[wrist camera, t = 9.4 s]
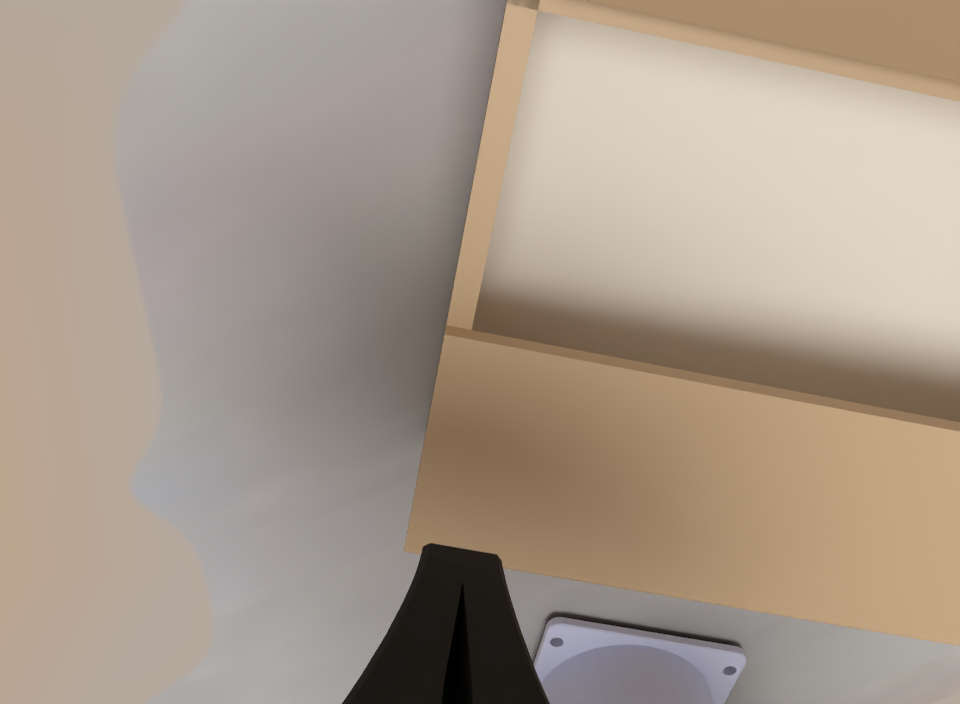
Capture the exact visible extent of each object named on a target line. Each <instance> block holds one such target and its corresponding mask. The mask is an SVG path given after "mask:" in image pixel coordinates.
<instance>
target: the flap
mask: <svg viewBox="0 0 960 704" xmlns="http://www.w3.org/2000/svg"><path fill="white" fill-rule="evenodd" d="M587 1H592V2H596V3H601V4H606V5H610V6H615V7H619V8H624V9H628V10H633V11H638V12H642V13H647V14H651V15H656V16H661V17H665V18H670V19H674V20H679V21H683V22H688V23H693V24H697V25H702V26H706V27H711V28H716V29H720V30H725V31H729V32H734V33H738V34H743V35H748V36H752V37H757V38H761V39H766V40H771V41H775V42H780V43H784V44H789V45H793V46H798V47H803V48H807V49H812V50H816V51H821V52H826V53H830V54H835V55H839V56H844V57H848V58H853V59H858V60H862V61H867V62H871V63H876V64H881V65H885V66H890V67H894V68H899V69H903V70H908V71H913V72H917V73H922V74H926V75H931V76H936V77H940V78H945V79H949V80H954V81H958V82H960V0H587Z"/></svg>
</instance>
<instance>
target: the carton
mask: <svg viewBox="0 0 960 704" xmlns="http://www.w3.org/2000/svg"><path fill="white" fill-rule="evenodd" d="M429 543H434V544H439V545H445V546H451V547H457V548H463V549H469V550H474V551H480V552H486V553H492V554H497V555H498V556H499V558H500V559H501V560H502V566H503V568H505V569H511V570H517V571H523V572H529V573H534V574H540V575H546V576H552V577H558V578H564V579H570V580H576V581H581V582H587V583H593V584H599V585H605V586H611V587H617V588H623V589H628V590H634V591H640V592H646V593H652V594H658V595H664V596H670V597H675V598H681V599H687V600H693V601H699V602H705V603H711V604H717V605H723V606H728V607H734V608H740V609H746V610H752V611H758V612H764V613H770V614H775V615H781V616H787V617H793V618H799V619H805V620H811V621H817V622H822V623H828V624H834V625H840V626H846V627H852V628H858V629H864V630H869V631H875V632H881V633H887V634H893V635H899V636H905V637H911V638H916V639H922V640H928V641H934V642H940V643H946V644H952V645H958V646H960V82H958V81H954V80H949V79H945V78H940V77H936V76H931V75H926V74H922V73H917V72H913V71H908V70H903V69H899V68H894V67H890V66H885V65H881V64H876V63H871V62H867V61H862V60H858V59H853V58H848V57H844V56H839V55H835V54H830V53H826V52H821V51H816V50H812V49H807V48H803V47H798V46H793V45H789V44H784V43H780V42H775V41H771V40H766V39H761V38H757V37H752V36H748V35H743V34H738V33H734V32H729V31H725V30H720V29H716V28H711V27H706V26H702V25H697V24H693V23H688V22H683V21H679V20H674V19H670V18H665V17H661V16H656V15H651V14H647V13H642V12H638V11H633V10H628V9H624V8H619V7H615V6H610V5H606V4H601V3H596V2H592V1H587V0H507V4H506V9H505V14H504V20H503V25H502V30H501V36H500V41H499V46H498V52H497V57H496V62H495V68H494V73H493V78H492V83H491V89H490V94H489V99H488V105H487V110H486V115H485V121H484V126H483V131H482V137H481V142H480V147H479V153H478V158H477V163H476V169H475V174H474V179H473V185H472V190H471V195H470V201H469V206H468V211H467V217H466V222H465V227H464V233H463V238H462V243H461V249H460V254H459V259H458V265H457V270H456V275H455V280H454V286H453V291H452V296H451V302H450V307H449V312H448V318H447V323H446V328H445V334H444V339H443V344H442V350H441V355H440V360H439V366H438V371H437V376H436V382H435V387H434V392H433V398H432V403H431V408H430V414H429V419H428V424H427V430H426V435H425V440H424V446H423V451H422V456H421V462H420V467H419V472H418V478H417V483H416V488H415V494H414V499H413V505H412V510H411V515H410V521H409V526H408V531H407V537H406V542H405V547H404V551H405V552H411V553H417V554H421V553H422V548H423V546H425V545H427V544H429Z"/></svg>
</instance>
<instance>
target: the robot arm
mask: <svg viewBox="0 0 960 704" xmlns="http://www.w3.org/2000/svg"><path fill="white" fill-rule="evenodd" d="M554 638H558V639H554ZM746 661H747V659H746V656H745V653H744V650H743V649H741V648H740V647H737V646H732V645H726V644H720V643H714V642H708V641H702V640H696V639H690V638H684V637H678V636H672V635H666V634H660V633H654V632H648V631H642V630H636V629H630V628H624V627H618V626H612V625H606V624H600V623H594V622H588V621H582V620H576V619H570V618H564V617H556V618H552V619H551V620H549V621H548V623H547V625H546V628H545V631H544V634H543V637H542V640H541V643H540V646H539V649H538V652H537V655H536V658H535V661H534V664H533V662H532V660H531V657H530V654H529V652H528V649H527V646H526V644H525V641H524V638H523V636H522V633H521V630H520V627H519V624H518V621H517V618H516V615H515V611H514V608H513V605H512V602H511V598H510V595H509V591H508V587H507V584H506V580H505V575H504V571H503V566H502V560H501V559H500V558H499V556H498V555H497V554H492V553H486V552H480V551H474V550H469V549H463V548H457V547H451V546H445V545H439V544H434V543H429V544H427V545H425V546H423V548H422V553H421V558H420V561H419V565H418V568H417V571H416V574H415V576H414V579H413V581H412V584H411V586H410V588H409V590H408V593H407V595H406V597H405V599H404V601H403V603H402V605H401V607H400V609H399V611H398V613H397V615H396V617H395V619H394V621H393V622H392V624H391V626H390V628H389V630H388V632H387V634H386V636H385V637H384V639H383V641H382V642H381V644H380V646H379V647H378V649H377V651H376V652H375V654H374V655H373V657H372V659H371V660H370V662H369V664H368V665H367V667H366V668H365V670H364V672H363V673H362V675H361V676H360V678H359V680H358V681H357V683H356V684H355V685H354V687H353V688H352V690H351V691H350V693H349V694H348V696H347V697H346V699H345V700H344V702H343V703H342V704H724V703H725V701H726V699H727V698H728V696H729V694H730V692H731V690H732V688H733V686H734V685H735V683H736V681H737V679H738V677H739V675H740V674H741V672H742V670H743V668H744V666H745V664H746Z"/></svg>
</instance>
